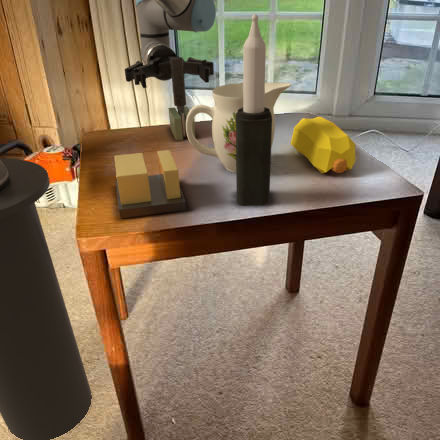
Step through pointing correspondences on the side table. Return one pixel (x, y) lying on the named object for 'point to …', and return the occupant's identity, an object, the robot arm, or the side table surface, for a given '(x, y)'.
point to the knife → (179, 88)
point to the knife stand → (178, 122)
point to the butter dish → (153, 205)
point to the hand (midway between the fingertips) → (176, 78)
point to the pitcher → (229, 119)
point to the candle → (253, 126)
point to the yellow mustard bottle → (324, 145)
